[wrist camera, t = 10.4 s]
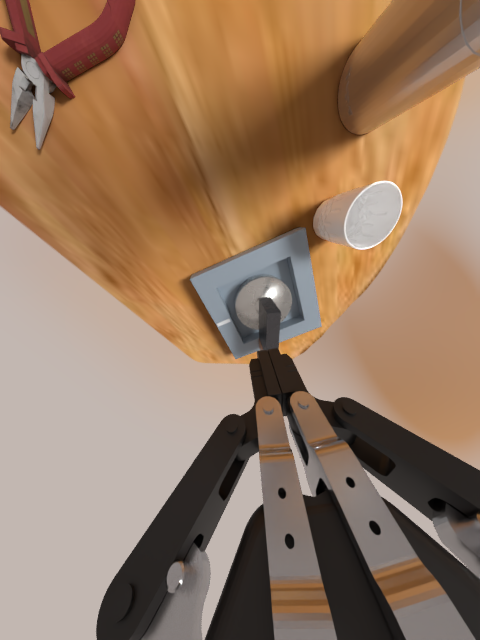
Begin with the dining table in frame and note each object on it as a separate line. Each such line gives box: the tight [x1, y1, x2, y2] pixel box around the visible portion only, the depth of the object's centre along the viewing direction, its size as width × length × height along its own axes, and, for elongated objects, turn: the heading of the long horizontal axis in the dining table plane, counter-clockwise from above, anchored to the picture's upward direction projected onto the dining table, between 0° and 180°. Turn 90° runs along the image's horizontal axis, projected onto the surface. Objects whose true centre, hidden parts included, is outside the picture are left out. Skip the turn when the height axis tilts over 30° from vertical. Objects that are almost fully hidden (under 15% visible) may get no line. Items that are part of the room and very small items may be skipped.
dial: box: [235, 274, 292, 350], centre depth 34 cm, size 16×12×9 cm
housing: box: [190, 227, 321, 359], centre depth 36 cm, size 22×22×3 cm
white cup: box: [313, 181, 402, 250], centre depth 27 cm, size 8×8×10 cm
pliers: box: [0, 0, 135, 150], centre depth 19 cm, size 12×20×3 cm, turn 140°
